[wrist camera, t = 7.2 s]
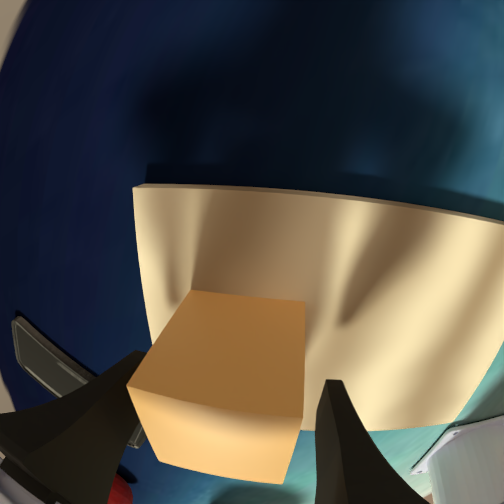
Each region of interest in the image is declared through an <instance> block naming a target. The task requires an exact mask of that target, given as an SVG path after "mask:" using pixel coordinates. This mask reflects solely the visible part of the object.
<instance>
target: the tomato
mask: <svg viewBox="0 0 504 504" xmlns="http://www.w3.org/2000/svg"><path fill="white" fill-rule="evenodd" d="M132 501H133V495H132V491H131V488H130V487H129V485H128V484H127V482H126V481H125V480H124V479H123V478H122V477H121V476H119V475H118V474H117V473H116V474H115V477H114V480H113V484H112V487H111V491H110V495H109V499H108V503H107V504H132Z"/></svg>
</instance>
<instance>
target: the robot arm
mask: <svg viewBox="0 0 504 504" xmlns="http://www.w3.org/2000/svg"><path fill="white" fill-rule="evenodd" d="M146 354H147V353H145V352H141V351H137V350H135V351H133V352H132V353H130V354H129V355H128V356H126V357H125V358H123V359H122V360H121V361H119V362H118V363H117V364H115V365H114V366H112V367H111V368H109V369H108V370H107V371H105V372H104V373H102V374H101V375H99V376H98V377H96V378H95V379H93V380H91V381H90V382H88V383H86V384H85V385H83V386H82V387H80V388H78V389H76V390H74V391H73V392H71V393H69V394H67V395H64V396H62V397H60V398H58V399H55V400H53V401H50V402H48V403H45V404H42V405H39V406H36V407H33V408H29V409H25V410H21V411H16V412H9V413H2V414H0V451H1V452H2V453H3V454H4V455H5V456H6V457H5V458H4V460H3V459H2V458H1V457H0V504H107V503H108V499H109V495H110V491H111V487H112V484H113V480H114V477H115V474H116V471H117V468H118V466H119V463H120V460H121V458H122V455H123V452H124V450H125V448H126V446H127V444H128V442H129V440H130V438H131V436H132V434H133V433H134V431H135V429H136V427H137V425H138V424H139V422H140V419H139V417H138V414H137V412H136V409H135V407H134V405H133V402H132V399H131V397H130V394H129V392H128V389H127V386H126V385H127V383H128V382H129V380H130V379H131V377H132V376H133V374H134V373H135V371H136V370H137V368H138V367H139V365H140V364H141V362H142V360H143V359H144V357H145V356H146ZM315 446H316V471H317V486H316V497H315V504H430V503H429V502H427V501H426V500H425V499H423V498H422V497H421V496H420V495H419V494H418V493H417V492H415V491H414V490H413V489H412V488H411V487H410V486H409V485H408V484H407V483H406V482H405V481H404V480H403V479H402V478H401V477H400V476H399V474H398V473H397V472H396V471H395V470H394V469H393V468H392V466H391V465H390V464H389V463H388V462H387V460H386V459H385V458H384V456H383V455H382V454H381V452H380V451H379V449H378V448H377V446H376V445H375V443H374V442H373V440H372V439H371V437H370V435H369V434H368V432H367V430H366V429H365V427H364V425H363V423H362V421H361V419H360V418H359V416H358V414H357V412H356V410H355V408H354V406H353V404H352V401H351V399H350V397H349V395H348V392H347V390H346V388H345V385H344V382H343V381H342V380H335V379H326V381H325V384H324V387H323V391H322V394H321V397H320V400H319V404H318V407H317V410H316V423H315ZM426 472H428V474H429V479H430V484H431V490H432V495H433V501H434V504H504V415H503V416H499V417H496V418H492V419H488V420H485V421H481V422H476V423H472V424H468V425H463V426H458V427H453V428H450V429H448V430H447V431H446V432H445V433H444V434H443V435H442V437H441V438H440V439H439V440H438V441H437V443H436V444H435V445H434V446H433V447H432V448H431V449H430V451H429V452H428V453H427V454H426V455H425V456H424V457H423V458H422V459H421V460H420V461H419V463H418V464H417V465H416V466H415V467H414V468H413V469H412V470H411V471H410V474H411V475H415V474H421V473H426Z"/></svg>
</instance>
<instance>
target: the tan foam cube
mask: <svg viewBox="0 0 504 504" xmlns="http://www.w3.org/2000/svg"><path fill="white" fill-rule="evenodd" d="M304 381H305V302H303V301H292V300H281V299H270V298H260V297H250V296H241V295H232V294H223V293H214V292H206V291H198V290H190V291H189V292H188V294H187V295H186V297H185V298H184V300H183V301H182V303H181V304H180V306H179V307H178V308H177V310H176V311H175V313H174V314H173V316H172V317H171V319H170V320H169V322H168V323H167V325H166V326H165V328H164V329H163V331H162V332H161V333H160V335H159V336H158V338H157V339H156V341H155V342H154V344H153V345H152V347H151V348H150V350H149V351H148V353H147V354H146V356H145V357H144V359H143V360H142V362H141V364H140V365H139V367H138V368H137V370H136V371H135V373H134V374H133V376H132V377H131V379H130V380H129V382H128V383H127V385H126V386H127V389H128V392H129V394H130V397H131V399H132V402H133V405H134V407H135V409H136V412H137V414H138V417H139V419H140V421H141V424H142V426H143V428H144V431H145V433H146V435H147V437H148V439H149V442H150V444H151V446H152V448H153V450H154V452H155V454H156V456H157V458H158V460H159V461H161V462H164V463H168V464H171V465H175V466H178V467H182V468H186V469H190V470H194V471H198V472H203V473H207V474H212V475H217V476H223V477H228V478H234V479H240V480H247V481H255V482H263V483H273V484H283V481H284V478H285V475H286V472H287V469H288V466H289V463H290V460H291V457H292V454H293V451H294V447H295V444H296V441H297V438H298V434H299V431H300V427H301V424H302V420H303V411H304Z"/></svg>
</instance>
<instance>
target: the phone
mask: <svg viewBox="0 0 504 504" xmlns="http://www.w3.org/2000/svg"><path fill="white" fill-rule="evenodd" d="M12 332H13V339H14V346H15V352H16V358H17V361H18V363H19V364H20V366H21V367H22V368H23V369H24V370H25V371H26V372H27V373H28V374H29V375H30V376H31V377H33V378H34V379H35V380H36V381H37V382H38V383H39V384H41V385H42V386H43V387H44V388H45V389H47V390H48V391H49V392H50V393H52V394H53V395H54V396H55V397H57V398H60V397H62V396H64V395H67V394H69V393H71V392H73V391H74V390H76V389H78V388H80V387H82V386H83V385H85V384H86V383H88V382H90V381H91V380H93V379H95V378H96V377H95V376H93V375H92V374H91V373H89V372H88V371H86V370H85V369H84V368H82V367H81V366H80V365H78V364H77V363H76V362H74V361H73V360H72V359H70V358H69V357H68V356H67V355H65V354H64V353H63V352H62V351H60V350H59V349H58V348H57V347H55V346H54V345H53V344H52V343H51V342H49V341H48V340H47V339H46V338H45V337H44V336H42V335H41V334H40V333H39V332H38V331H37V330H36V329H35V328H33V327H32V326H31V325H30V324H29V323H28V322H27V321H26V320H25V319H24V318H22V317H21V316H18V317H16V318H15V319H14V320H13V321H12ZM146 438H147V435H146V433H145V431H144V428H143V426H142V424H141V421H140V422H139V424H138V425H137V427H136V429H135V431H134V433H133V434H132V436H131V438H130V440H129V442H128V444H127V445H129V446H131V447H133V448H140V446H141V445H142V444H143V442H144V441H145V439H146Z"/></svg>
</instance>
